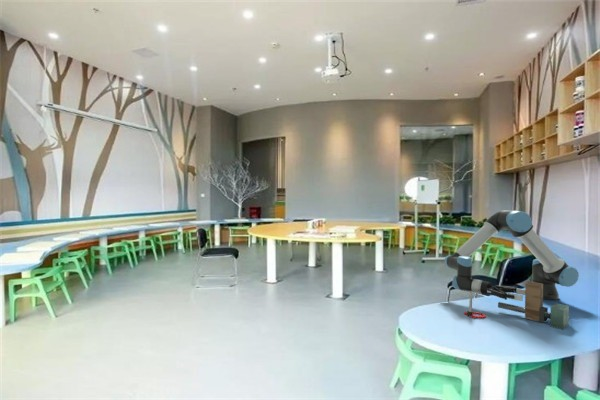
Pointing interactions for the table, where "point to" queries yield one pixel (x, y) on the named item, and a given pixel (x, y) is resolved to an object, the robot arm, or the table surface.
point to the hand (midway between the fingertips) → (526, 295)
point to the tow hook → (469, 312)
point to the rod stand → (546, 314)
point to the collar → (542, 314)
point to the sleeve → (533, 300)
